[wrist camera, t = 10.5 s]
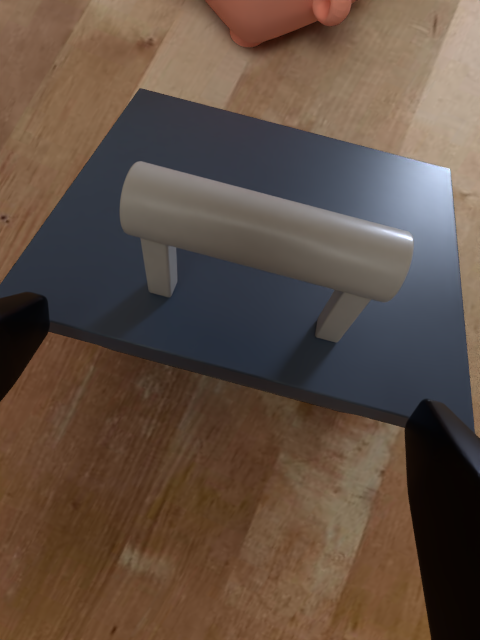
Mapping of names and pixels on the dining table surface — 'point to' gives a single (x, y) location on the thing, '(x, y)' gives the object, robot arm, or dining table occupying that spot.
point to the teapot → (275, 17)
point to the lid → (260, 260)
